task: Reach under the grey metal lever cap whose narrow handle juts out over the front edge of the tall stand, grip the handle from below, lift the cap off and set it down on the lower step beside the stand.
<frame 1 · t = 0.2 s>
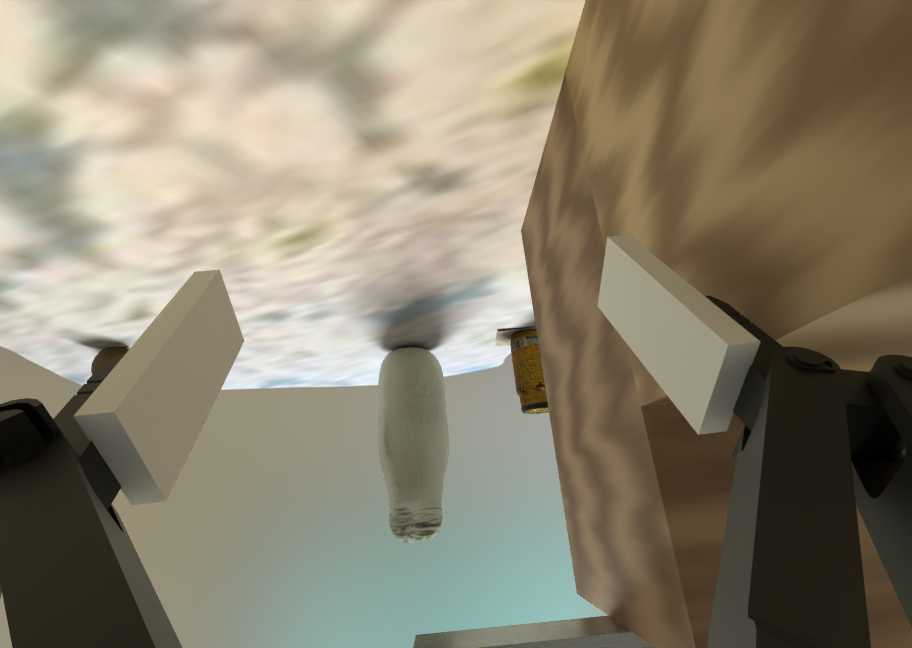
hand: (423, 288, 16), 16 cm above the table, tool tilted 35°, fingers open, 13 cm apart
glass bottle: (409, 348, 73), on the table
stepped stand: (647, 84, 29), on the table
condiment: (522, 333, 72), on the table
kendama: (153, 364, 71), on the table
lever cap: (674, 617, 25), point 30 cm above the table, touching stepped stand
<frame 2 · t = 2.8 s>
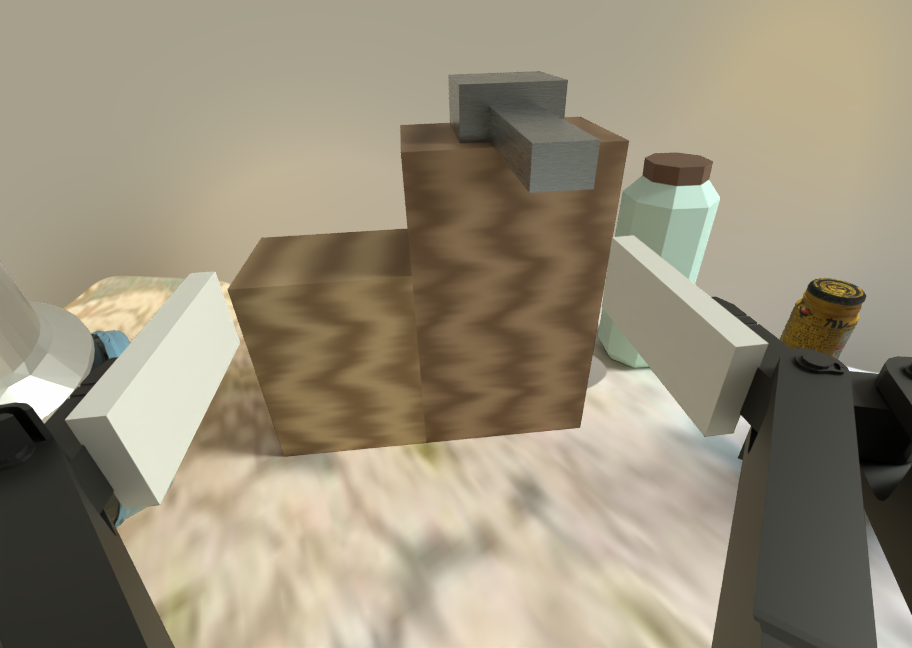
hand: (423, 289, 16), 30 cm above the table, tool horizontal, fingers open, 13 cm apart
stepped stand: (432, 406, 54), on the table
condiment: (800, 377, 57), on the table
water bottle: (634, 350, 62), on the table
lever cap: (508, 138, 36), point 30 cm above the table, touching stepped stand
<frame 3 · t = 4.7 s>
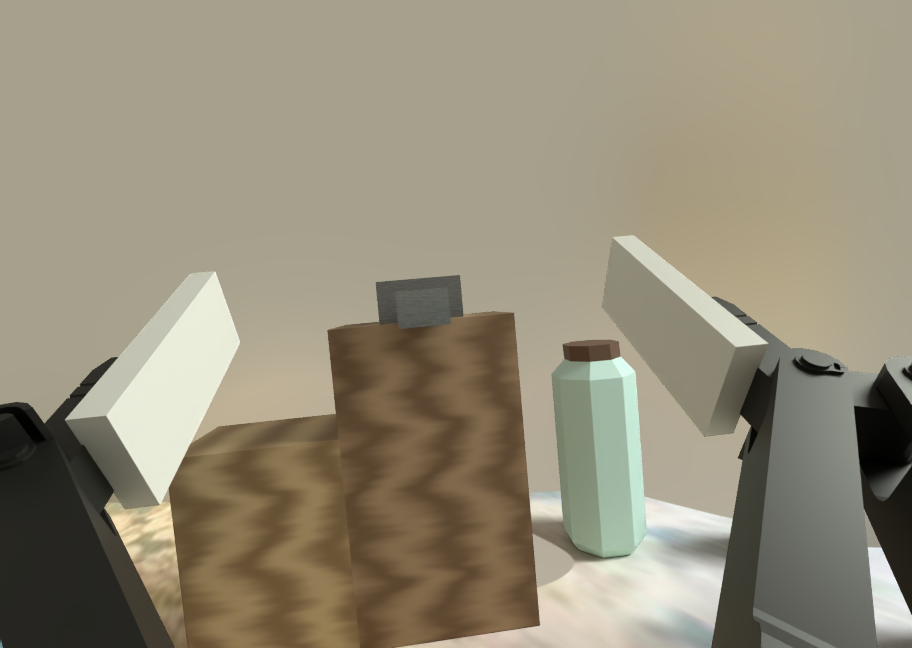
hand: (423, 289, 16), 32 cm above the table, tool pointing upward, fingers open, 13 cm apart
stepped stand: (376, 611, 48), on the table
water bottle: (604, 541, 58), on the table
lever cap: (421, 320, 45), point 30 cm above the table, touching stepped stand
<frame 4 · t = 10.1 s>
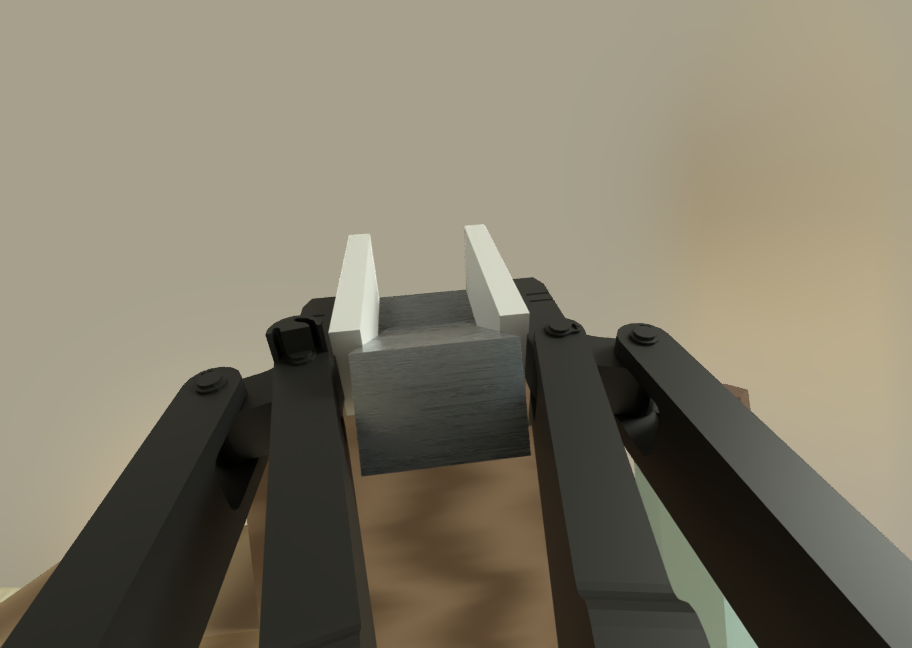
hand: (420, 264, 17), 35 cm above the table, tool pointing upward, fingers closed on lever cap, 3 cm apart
lever cap: (429, 372, 23), point 30 cm above the table, touching gripper, stepped stand
when the fingers open (26 cm above the table, at t = 17.3 s): lever cap drops 1 cm, resting on stepped stand.
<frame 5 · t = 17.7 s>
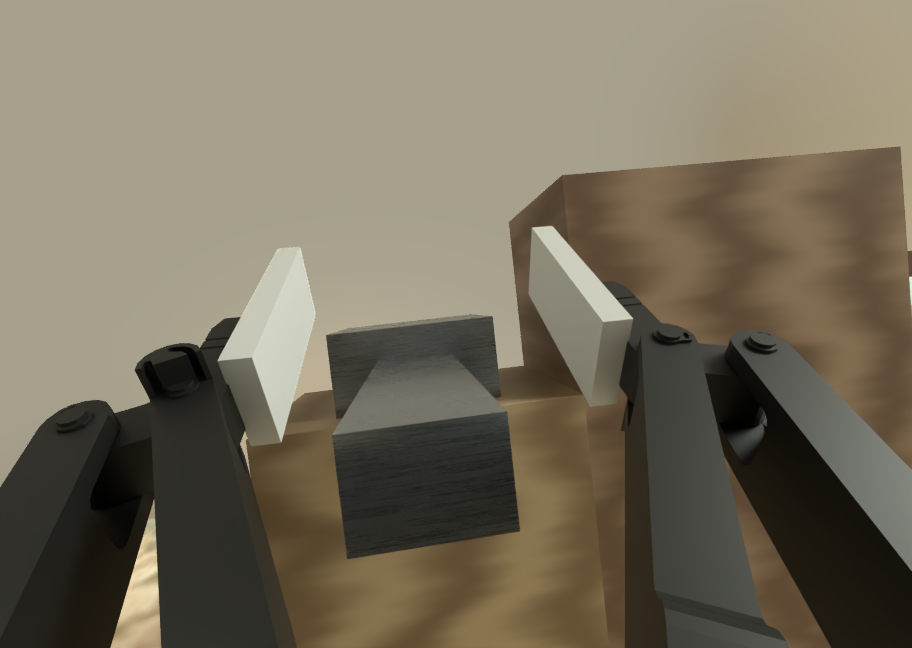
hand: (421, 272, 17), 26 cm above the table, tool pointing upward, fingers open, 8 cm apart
lever cap: (419, 403, 23), point 20 cm above the table, touching stepped stand
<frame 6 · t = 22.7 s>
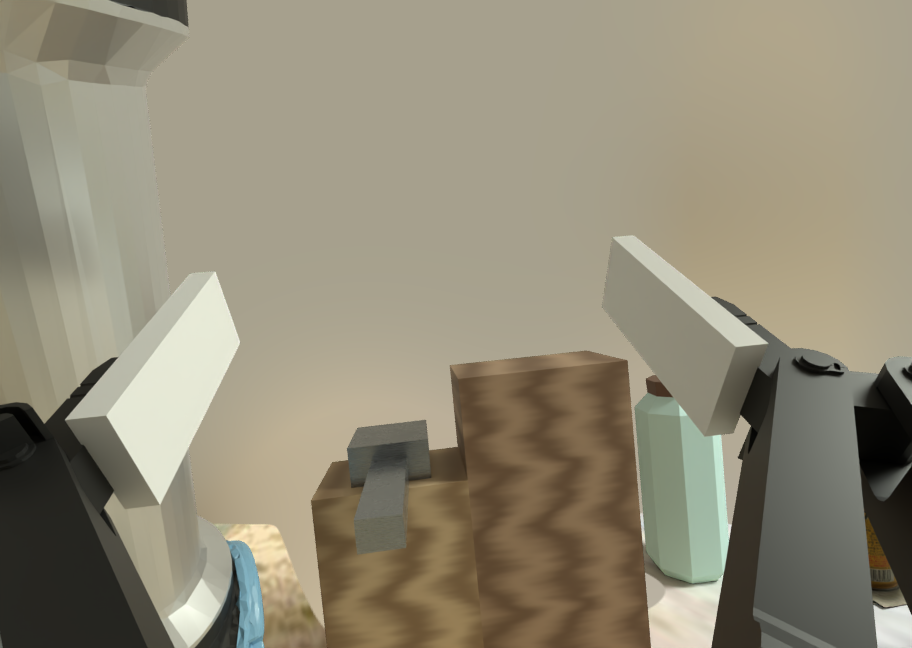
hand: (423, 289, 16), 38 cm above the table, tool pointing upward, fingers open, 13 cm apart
stepped stand: (488, 637, 51), on the table
condiment: (872, 583, 54), on the table
water bottle: (687, 566, 61), on the table
lever cap: (392, 479, 47), point 20 cm above the table, touching stepped stand
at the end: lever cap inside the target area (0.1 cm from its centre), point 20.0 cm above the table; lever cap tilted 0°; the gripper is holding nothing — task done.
